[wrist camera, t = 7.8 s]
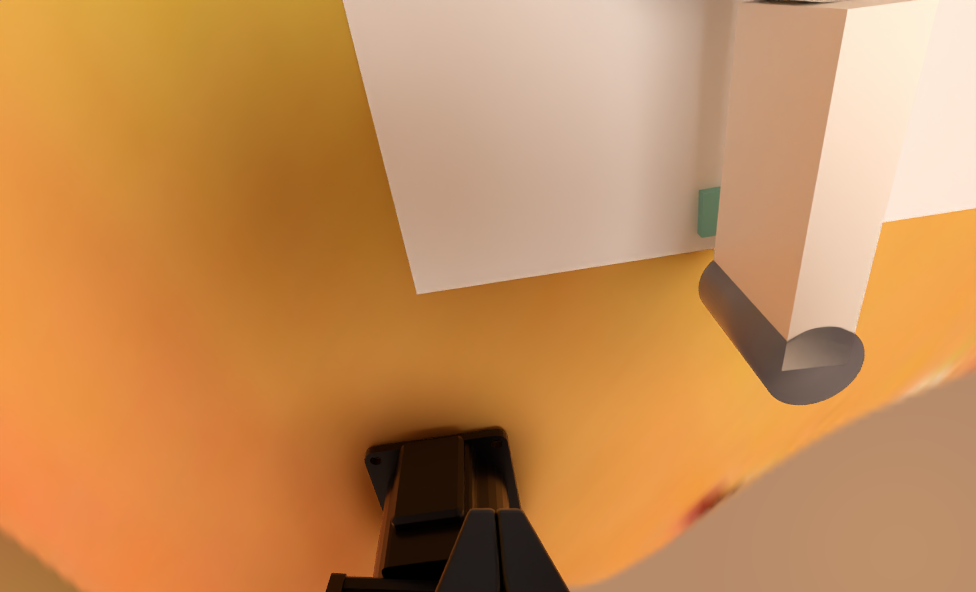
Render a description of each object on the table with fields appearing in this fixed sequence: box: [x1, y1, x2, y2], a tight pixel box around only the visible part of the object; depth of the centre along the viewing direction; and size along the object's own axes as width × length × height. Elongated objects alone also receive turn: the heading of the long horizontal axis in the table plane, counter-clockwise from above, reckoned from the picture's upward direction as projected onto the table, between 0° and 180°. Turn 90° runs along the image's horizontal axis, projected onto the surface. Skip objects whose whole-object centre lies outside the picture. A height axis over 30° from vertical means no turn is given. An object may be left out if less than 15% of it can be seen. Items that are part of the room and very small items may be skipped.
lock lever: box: [699, 0, 939, 405], centre depth 12 cm, size 15×6×4 cm, turn 7°
